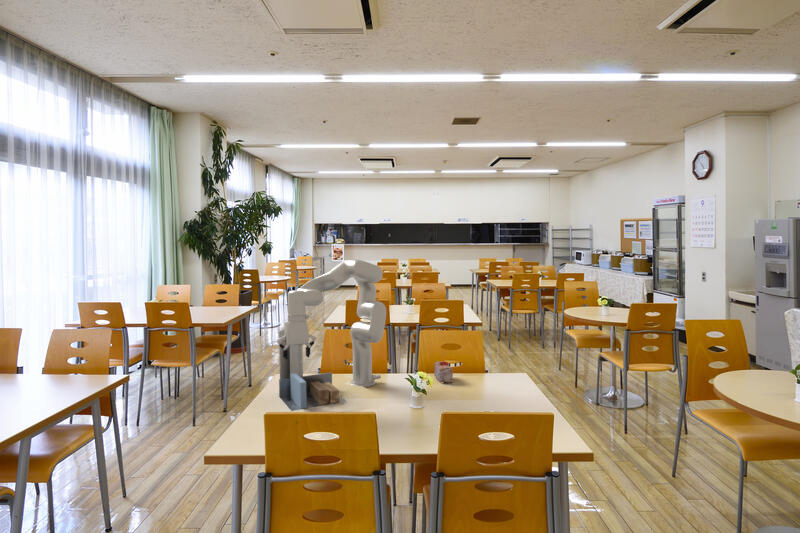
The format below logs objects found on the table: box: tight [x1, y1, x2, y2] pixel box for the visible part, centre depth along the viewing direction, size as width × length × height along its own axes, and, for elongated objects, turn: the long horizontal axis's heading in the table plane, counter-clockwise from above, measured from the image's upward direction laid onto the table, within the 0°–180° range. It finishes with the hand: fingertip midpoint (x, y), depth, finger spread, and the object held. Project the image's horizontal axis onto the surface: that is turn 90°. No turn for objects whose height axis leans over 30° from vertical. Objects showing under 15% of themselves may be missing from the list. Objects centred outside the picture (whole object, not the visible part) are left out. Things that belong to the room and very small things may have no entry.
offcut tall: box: [310, 382, 329, 404], centre depth 213 cm, size 4×14×6 cm, turn 28°
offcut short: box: [321, 382, 340, 403], centre depth 215 cm, size 4×14×5 cm, turn 28°
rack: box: [278, 372, 348, 412], centre depth 213 cm, size 25×21×9 cm
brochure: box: [278, 328, 304, 379], centre depth 229 cm, size 14×6×30 cm, turn 168°
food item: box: [434, 360, 454, 383], centre depth 246 cm, size 14×8×10 cm, turn 12°
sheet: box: [290, 373, 308, 409], centre depth 209 cm, size 2×16×11 cm, turn 28°
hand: (296, 357), depth 208 cm, fingers open, 9 cm apart
